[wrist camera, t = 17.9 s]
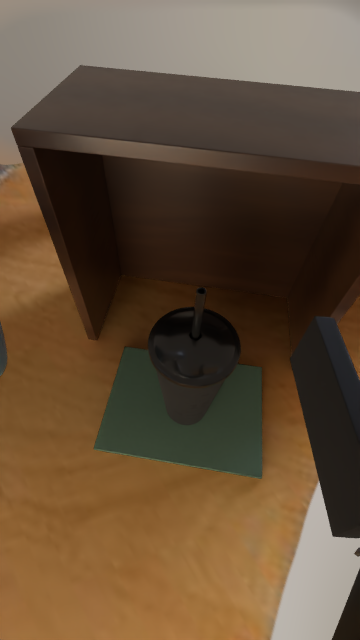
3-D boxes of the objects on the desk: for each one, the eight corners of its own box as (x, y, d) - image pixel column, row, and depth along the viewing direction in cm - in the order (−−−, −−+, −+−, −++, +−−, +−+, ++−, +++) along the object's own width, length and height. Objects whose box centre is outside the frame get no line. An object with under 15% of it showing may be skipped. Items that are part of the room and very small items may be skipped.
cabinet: (301, 371, 40) (450, 176, 19) (88, 339, 42) (9, 127, 21) (294, 293, 48) (393, 95, 27) (116, 268, 50) (79, 64, 29)
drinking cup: (141, 394, 37) (122, 275, 21) (195, 365, 40) (214, 239, 24) (175, 452, 33) (183, 361, 17) (231, 415, 36) (284, 307, 20)
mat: (261, 479, 32) (262, 478, 32) (94, 449, 34) (93, 448, 33) (260, 369, 40) (261, 367, 40) (125, 348, 41) (124, 346, 41)
